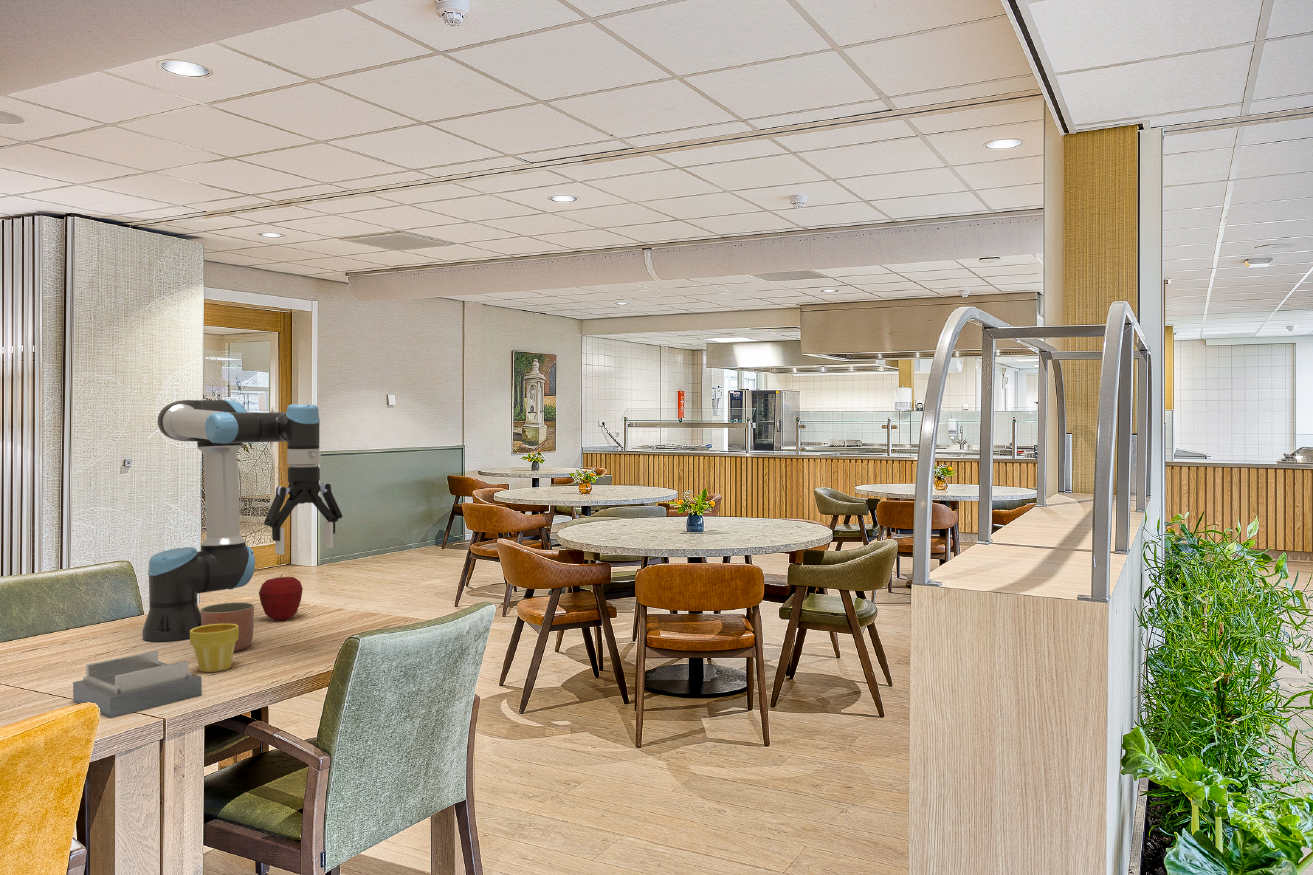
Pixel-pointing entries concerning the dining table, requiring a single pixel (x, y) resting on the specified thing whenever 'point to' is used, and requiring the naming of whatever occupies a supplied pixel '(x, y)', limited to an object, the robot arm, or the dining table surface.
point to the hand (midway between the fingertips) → (304, 550)
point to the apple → (281, 597)
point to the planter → (232, 620)
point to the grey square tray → (135, 684)
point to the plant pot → (214, 646)
